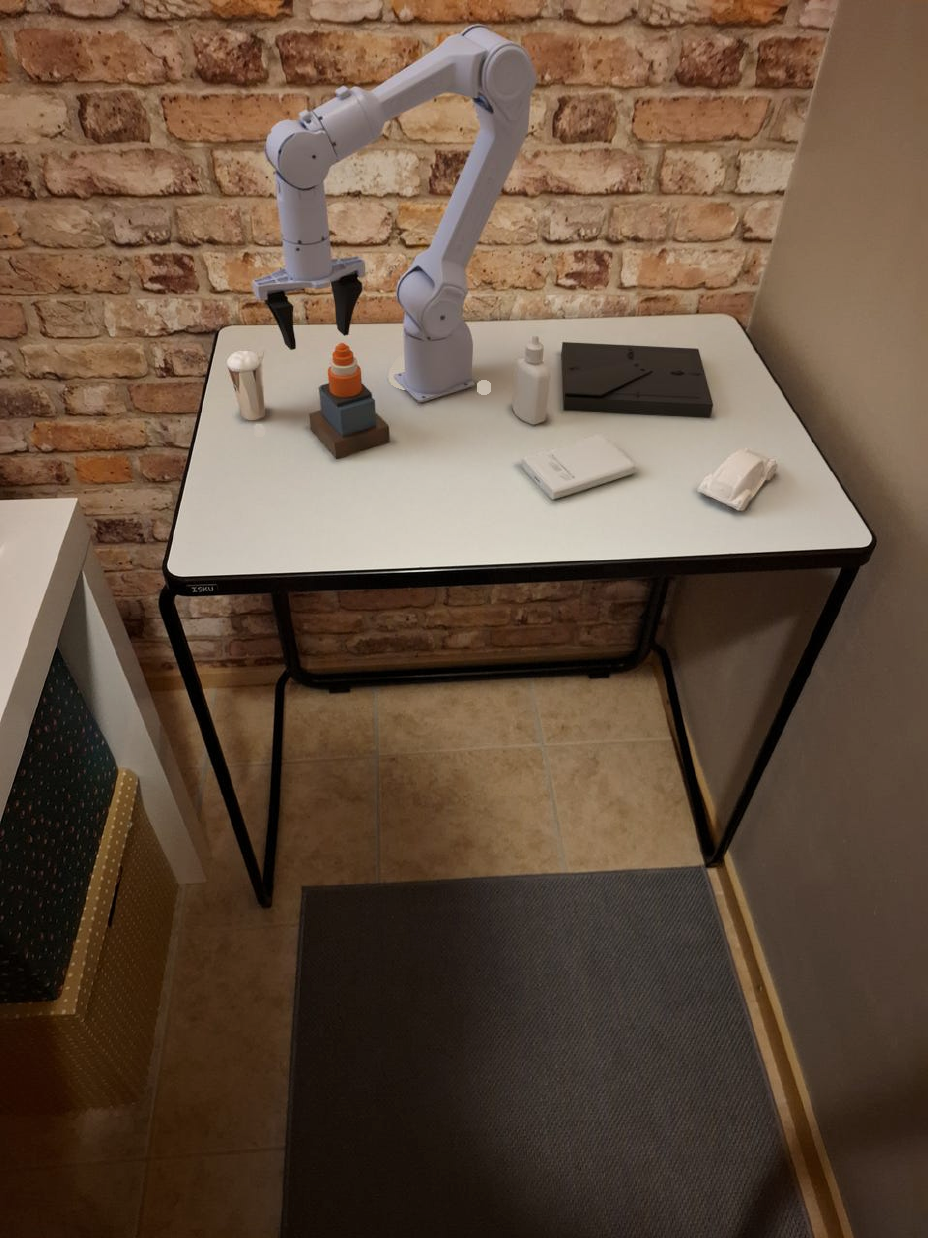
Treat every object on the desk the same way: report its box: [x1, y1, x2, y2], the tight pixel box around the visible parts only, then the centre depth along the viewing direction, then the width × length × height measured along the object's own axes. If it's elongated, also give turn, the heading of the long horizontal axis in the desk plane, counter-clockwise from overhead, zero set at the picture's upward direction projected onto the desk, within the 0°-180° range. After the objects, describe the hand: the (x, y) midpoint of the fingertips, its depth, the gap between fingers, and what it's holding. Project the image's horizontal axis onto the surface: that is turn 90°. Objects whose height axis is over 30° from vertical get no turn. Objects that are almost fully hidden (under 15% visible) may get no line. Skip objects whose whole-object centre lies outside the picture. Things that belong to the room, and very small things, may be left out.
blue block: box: [318, 385, 377, 437], centre depth 113 cm, size 5×6×4 cm
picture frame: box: [560, 341, 714, 418], centre depth 126 cm, size 16×3×21 cm
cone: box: [320, 342, 373, 407], centre depth 109 cm, size 5×5×7 cm
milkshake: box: [226, 349, 266, 421], centre depth 116 cm, size 4×5×10 cm
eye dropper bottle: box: [511, 333, 551, 425], centre depth 116 cm, size 4×6×12 cm
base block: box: [308, 409, 391, 460], centre depth 115 cm, size 8×8×2 cm
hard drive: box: [520, 433, 637, 500], centre depth 111 cm, size 2×8×12 cm
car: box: [697, 447, 779, 512], centre depth 108 cm, size 12×6×5 cm, turn 140°
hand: (317, 338), depth 113 cm, fingers open, 7 cm apart
